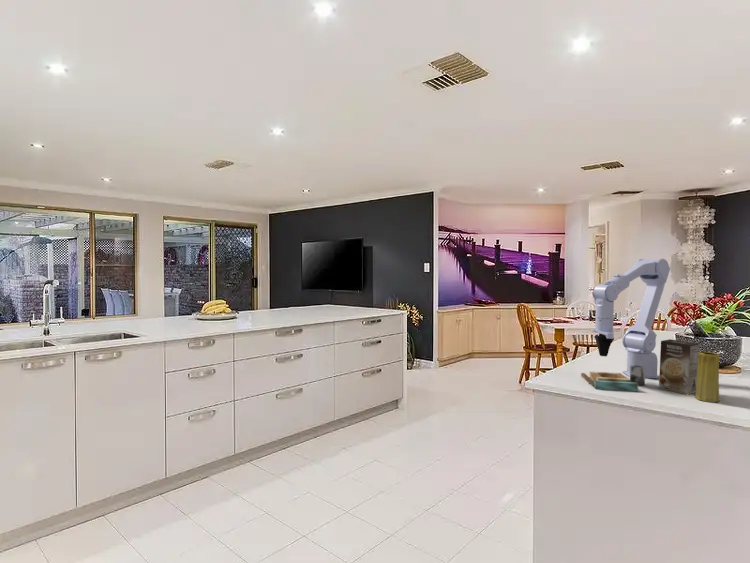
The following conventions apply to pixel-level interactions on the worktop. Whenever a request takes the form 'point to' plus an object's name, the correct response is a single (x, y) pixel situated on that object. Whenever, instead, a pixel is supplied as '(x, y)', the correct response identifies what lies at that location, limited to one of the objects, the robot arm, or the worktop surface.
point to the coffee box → (678, 366)
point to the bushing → (637, 374)
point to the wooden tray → (608, 377)
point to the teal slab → (611, 384)
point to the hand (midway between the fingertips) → (603, 355)
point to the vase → (707, 377)
